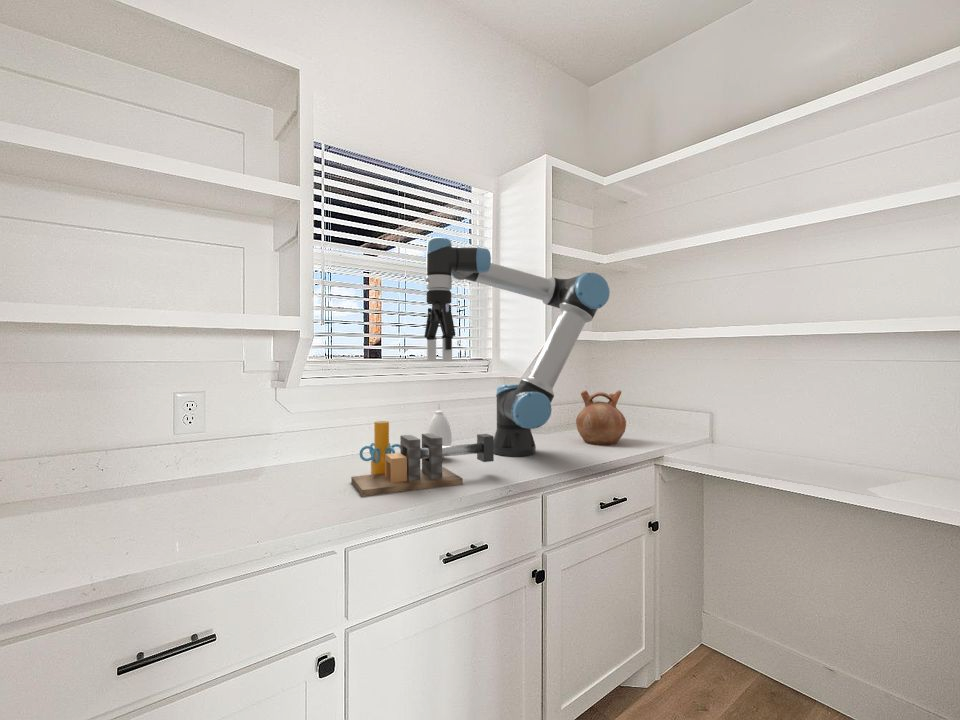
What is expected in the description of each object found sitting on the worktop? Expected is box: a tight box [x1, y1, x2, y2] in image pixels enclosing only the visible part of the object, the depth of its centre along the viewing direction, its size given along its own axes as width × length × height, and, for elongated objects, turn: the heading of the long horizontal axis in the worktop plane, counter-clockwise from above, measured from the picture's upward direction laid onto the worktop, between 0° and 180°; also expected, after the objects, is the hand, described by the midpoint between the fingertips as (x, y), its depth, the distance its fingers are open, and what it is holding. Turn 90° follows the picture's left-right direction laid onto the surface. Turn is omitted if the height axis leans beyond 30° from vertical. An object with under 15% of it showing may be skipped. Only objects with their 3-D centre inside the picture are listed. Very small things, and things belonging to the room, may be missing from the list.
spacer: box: [385, 452, 407, 482], centre depth 131 cm, size 4×6×6 cm, turn 25°
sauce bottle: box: [426, 403, 453, 459], centre depth 163 cm, size 8×8×18 cm
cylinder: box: [359, 420, 400, 475], centre depth 140 cm, size 12×10×15 cm
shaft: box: [420, 433, 495, 463], centre depth 138 cm, size 22×4×7 cm, turn 115°
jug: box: [575, 390, 627, 446], centre depth 191 cm, size 18×18×20 cm
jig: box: [350, 433, 464, 497], centre depth 132 cm, size 26×14×12 cm, turn 115°
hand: (439, 361), depth 152 cm, fingers open, 13 cm apart
